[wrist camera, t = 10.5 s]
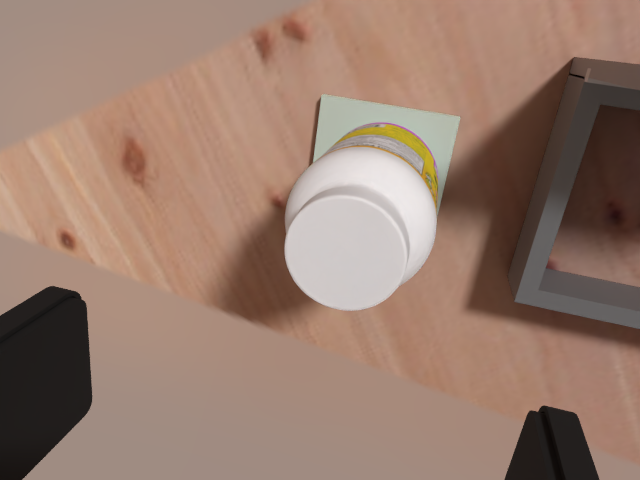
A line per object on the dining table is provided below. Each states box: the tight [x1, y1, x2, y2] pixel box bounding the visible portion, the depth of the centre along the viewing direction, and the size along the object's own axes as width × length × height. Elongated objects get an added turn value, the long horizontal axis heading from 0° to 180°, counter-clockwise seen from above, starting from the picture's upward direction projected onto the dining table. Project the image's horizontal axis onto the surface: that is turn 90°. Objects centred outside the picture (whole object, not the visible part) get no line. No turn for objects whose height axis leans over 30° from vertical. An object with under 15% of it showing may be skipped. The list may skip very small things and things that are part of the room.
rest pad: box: [313, 94, 460, 216], centre depth 31 cm, size 8×8×1 cm
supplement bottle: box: [284, 122, 438, 311], centre depth 25 cm, size 7×7×13 cm
